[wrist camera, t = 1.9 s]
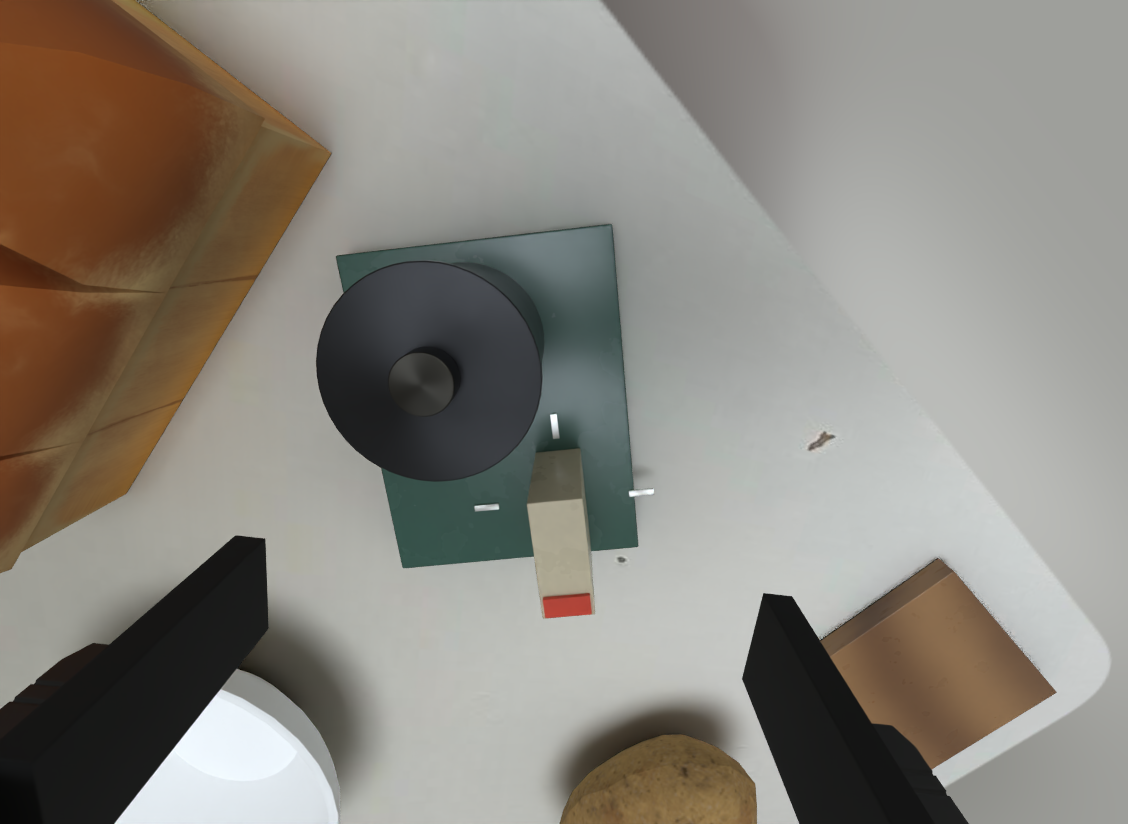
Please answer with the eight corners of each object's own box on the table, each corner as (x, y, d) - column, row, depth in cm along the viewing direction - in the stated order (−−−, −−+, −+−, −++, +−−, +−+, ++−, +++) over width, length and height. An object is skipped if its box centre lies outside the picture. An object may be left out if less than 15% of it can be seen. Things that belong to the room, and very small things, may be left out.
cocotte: (539, 246, 28) (524, 247, 19) (558, 411, 31) (553, 483, 21) (370, 266, 29) (274, 276, 19) (402, 427, 31) (330, 505, 22)
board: (938, 557, 35) (954, 571, 34) (1038, 675, 38) (1057, 692, 36) (770, 675, 38) (778, 692, 36) (874, 778, 40) (885, 798, 39)
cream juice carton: (535, 452, 31) (526, 506, 25) (580, 447, 31) (582, 500, 25) (548, 548, 33) (542, 622, 27) (590, 544, 33) (595, 617, 26)
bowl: (38, 712, 39) (-68, 805, 33) (204, 539, 35) (120, 606, 29) (263, 863, 43) (207, 974, 37) (435, 722, 39) (407, 818, 33)
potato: (769, 756, 40) (816, 878, 32) (614, 851, 42) (624, 985, 35) (683, 668, 38) (712, 776, 30) (527, 774, 40) (517, 898, 33)
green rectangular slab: (630, 222, 30) (634, 221, 28) (654, 552, 35) (659, 571, 33) (349, 254, 30) (333, 255, 28) (416, 573, 36) (406, 593, 34)
